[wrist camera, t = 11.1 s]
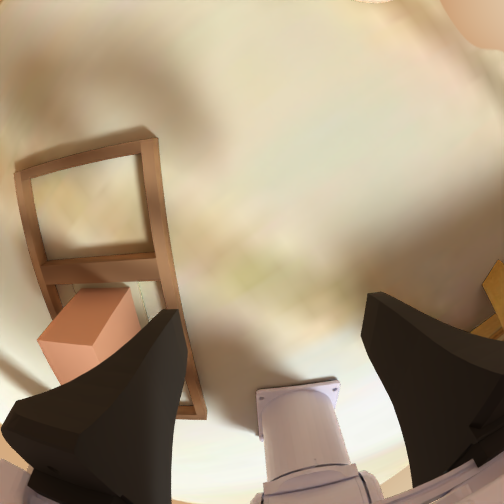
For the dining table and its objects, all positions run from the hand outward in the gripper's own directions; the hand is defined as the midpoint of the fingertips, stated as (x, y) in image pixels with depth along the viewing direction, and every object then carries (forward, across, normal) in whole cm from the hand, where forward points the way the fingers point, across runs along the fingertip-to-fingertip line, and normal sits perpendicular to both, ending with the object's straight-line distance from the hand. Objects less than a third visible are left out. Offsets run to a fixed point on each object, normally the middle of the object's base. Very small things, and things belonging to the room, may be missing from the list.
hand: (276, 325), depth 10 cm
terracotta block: (+9, +12, +5) cm, 16 cm away
